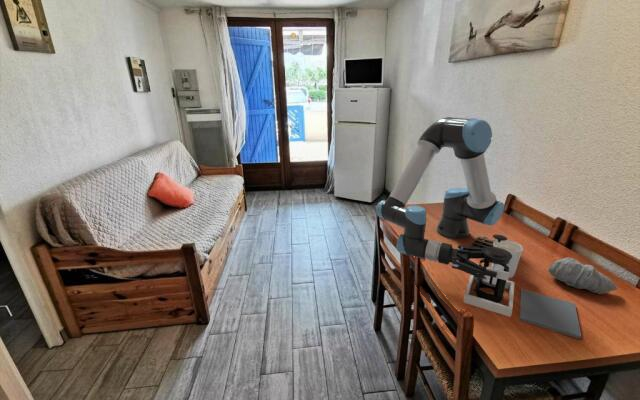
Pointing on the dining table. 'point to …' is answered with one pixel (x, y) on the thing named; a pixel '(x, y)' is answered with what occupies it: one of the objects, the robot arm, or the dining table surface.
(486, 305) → the holder frame
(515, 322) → the dining table surface
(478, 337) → the dining table surface
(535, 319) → the slate mat
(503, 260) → the french press
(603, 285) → the seashell
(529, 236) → the dining table surface
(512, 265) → the candle holder
